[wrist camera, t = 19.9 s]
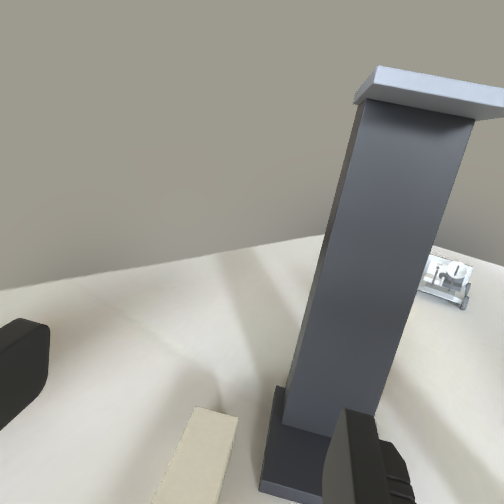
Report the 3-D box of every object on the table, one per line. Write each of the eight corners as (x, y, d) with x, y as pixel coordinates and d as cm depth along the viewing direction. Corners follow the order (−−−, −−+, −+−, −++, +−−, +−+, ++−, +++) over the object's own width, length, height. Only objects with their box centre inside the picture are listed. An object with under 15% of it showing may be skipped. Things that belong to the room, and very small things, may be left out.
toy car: (480, 271, 78) (420, 253, 83) (463, 315, 81) (405, 295, 86) (481, 255, 94) (430, 241, 99) (466, 293, 97) (417, 277, 102)
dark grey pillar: (258, 491, 32) (368, 63, 23) (274, 394, 44) (349, 91, 35) (382, 527, 31) (549, 96, 22) (363, 418, 44) (465, 113, 34)
